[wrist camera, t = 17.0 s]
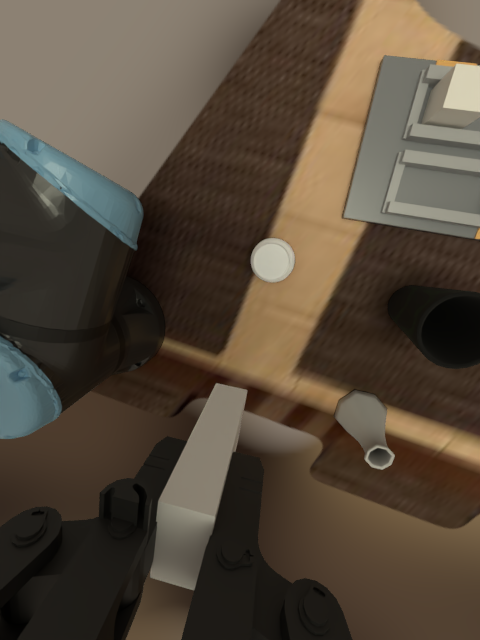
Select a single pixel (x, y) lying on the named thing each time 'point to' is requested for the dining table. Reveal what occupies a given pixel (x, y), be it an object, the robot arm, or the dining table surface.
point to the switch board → (415, 157)
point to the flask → (366, 426)
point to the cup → (440, 323)
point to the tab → (455, 98)
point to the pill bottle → (272, 260)
